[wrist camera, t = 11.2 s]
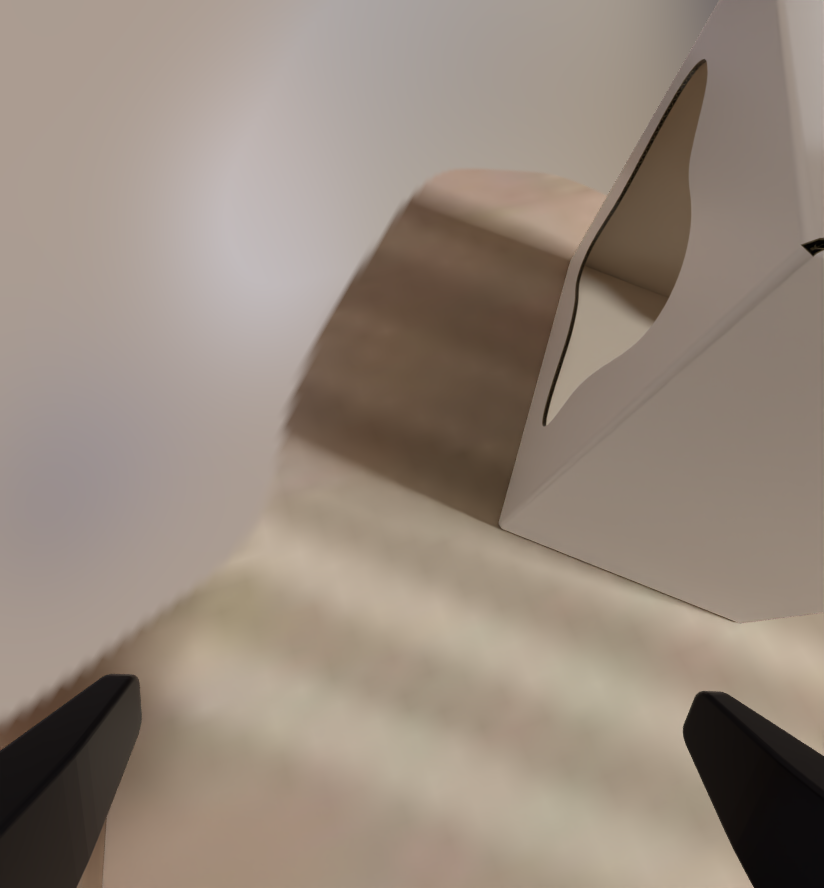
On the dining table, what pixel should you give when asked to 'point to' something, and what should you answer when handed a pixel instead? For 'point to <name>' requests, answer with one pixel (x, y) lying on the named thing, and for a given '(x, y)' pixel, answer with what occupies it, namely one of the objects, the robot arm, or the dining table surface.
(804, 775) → the robot arm
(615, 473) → the gable box
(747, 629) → the dining table surface
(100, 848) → the walnut riser
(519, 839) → the dining table surface
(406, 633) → the dining table surface
